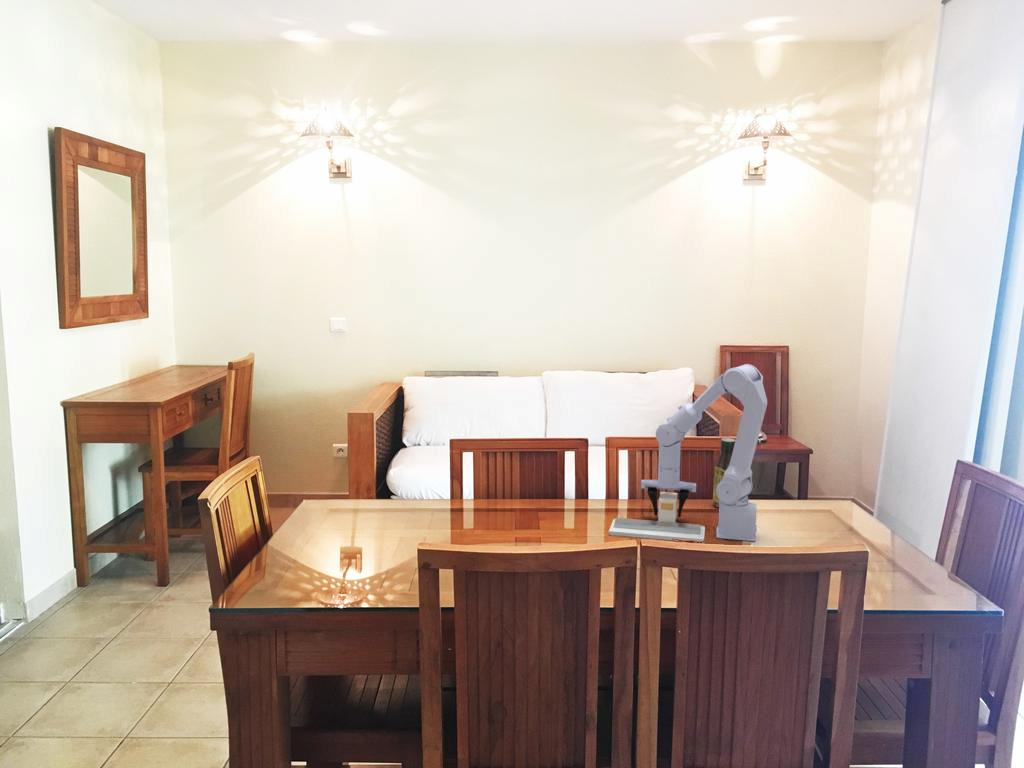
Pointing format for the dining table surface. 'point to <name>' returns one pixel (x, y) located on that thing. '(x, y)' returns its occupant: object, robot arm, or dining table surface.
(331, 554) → the dining table surface
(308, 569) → the dining table surface
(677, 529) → the metal rail
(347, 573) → the dining table surface
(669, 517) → the block
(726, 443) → the sauce bottle
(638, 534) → the board
